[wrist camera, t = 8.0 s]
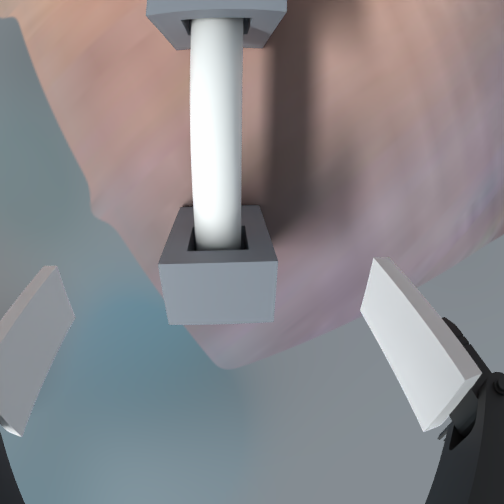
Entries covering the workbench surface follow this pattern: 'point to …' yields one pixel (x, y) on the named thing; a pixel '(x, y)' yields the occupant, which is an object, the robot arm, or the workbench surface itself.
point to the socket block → (219, 274)
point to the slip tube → (216, 131)
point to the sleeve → (216, 6)
